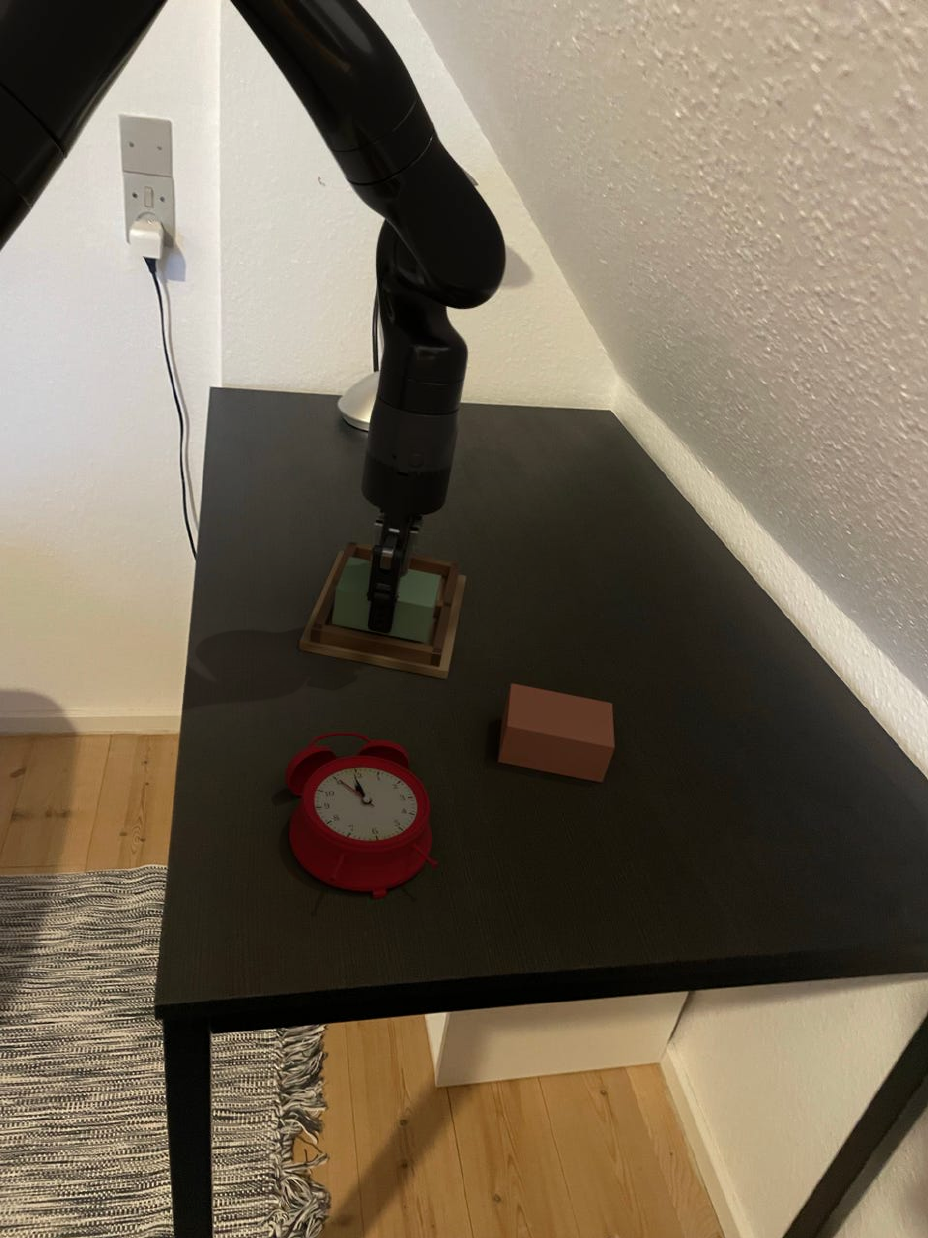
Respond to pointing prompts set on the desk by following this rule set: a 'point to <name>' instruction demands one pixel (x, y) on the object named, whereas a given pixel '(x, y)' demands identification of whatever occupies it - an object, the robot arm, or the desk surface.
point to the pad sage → (409, 609)
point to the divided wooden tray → (385, 647)
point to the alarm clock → (359, 816)
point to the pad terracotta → (557, 733)
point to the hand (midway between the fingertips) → (385, 611)
